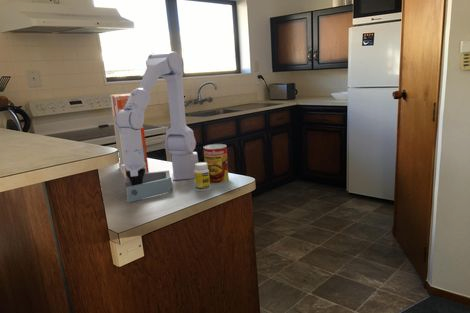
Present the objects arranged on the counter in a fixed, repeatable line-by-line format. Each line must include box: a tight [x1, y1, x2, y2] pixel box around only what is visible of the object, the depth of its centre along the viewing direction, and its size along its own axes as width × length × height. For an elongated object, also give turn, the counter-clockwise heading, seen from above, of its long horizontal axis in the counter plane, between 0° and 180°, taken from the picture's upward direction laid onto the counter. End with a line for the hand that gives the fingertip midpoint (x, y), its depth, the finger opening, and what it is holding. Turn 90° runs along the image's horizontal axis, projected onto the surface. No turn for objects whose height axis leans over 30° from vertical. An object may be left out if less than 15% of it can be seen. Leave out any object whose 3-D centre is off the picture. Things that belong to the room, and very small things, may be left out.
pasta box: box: [109, 92, 150, 180], centre depth 144 cm, size 23×8×30 cm, turn 23°
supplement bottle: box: [194, 161, 211, 192], centre depth 120 cm, size 5×5×8 cm
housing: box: [124, 170, 171, 197], centre depth 123 cm, size 14×10×4 cm
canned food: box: [203, 143, 229, 185], centre depth 129 cm, size 8×8×12 cm
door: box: [125, 176, 173, 203], centre depth 115 cm, size 14×2×4 cm, turn 125°
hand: (138, 192), depth 115 cm, fingers closed
